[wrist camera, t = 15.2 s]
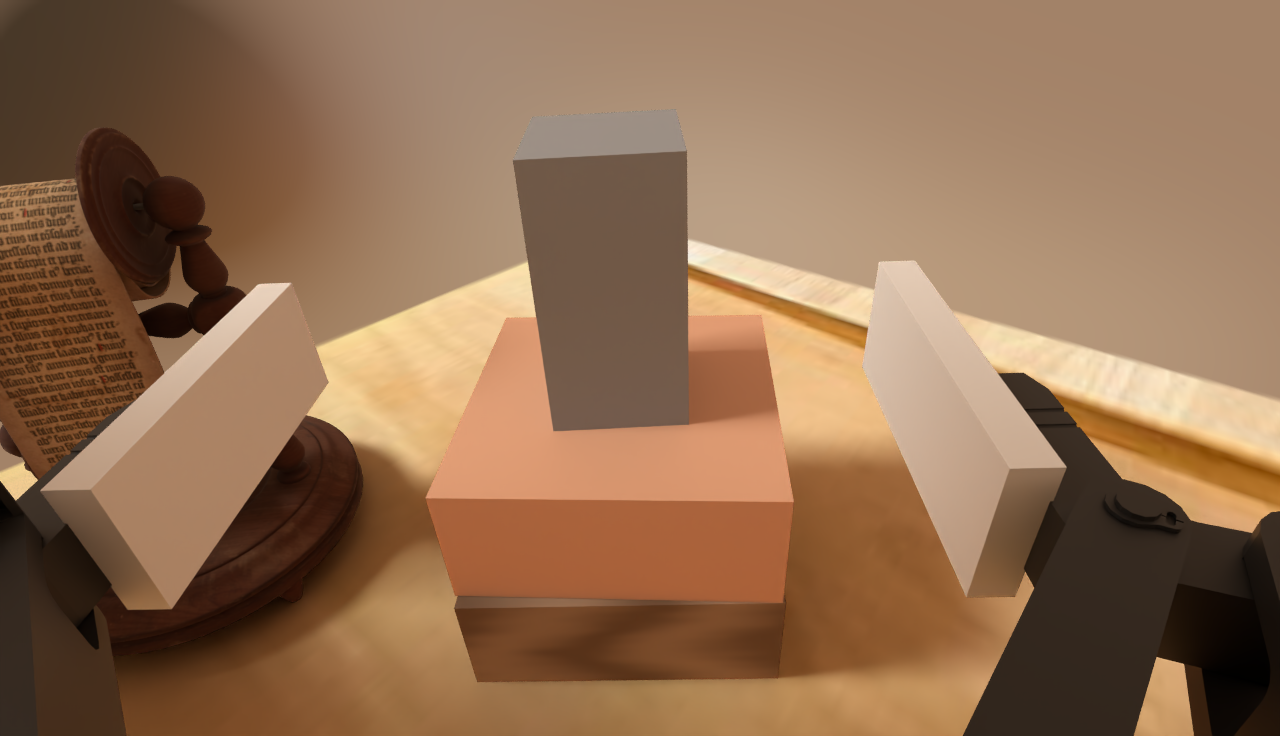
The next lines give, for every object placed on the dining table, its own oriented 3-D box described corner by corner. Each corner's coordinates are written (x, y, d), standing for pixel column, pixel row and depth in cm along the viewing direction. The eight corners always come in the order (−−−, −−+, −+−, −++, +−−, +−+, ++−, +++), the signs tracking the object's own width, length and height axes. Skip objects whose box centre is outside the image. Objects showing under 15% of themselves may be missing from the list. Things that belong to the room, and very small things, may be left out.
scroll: (-33, 712, 27) (-532, 252, 16) (122, 469, 40) (-104, 110, 28) (347, 637, 29) (135, 183, 18) (385, 428, 42) (270, 78, 30)
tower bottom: (479, 686, 28) (454, 608, 25) (525, 480, 38) (511, 408, 35) (777, 683, 27) (786, 602, 24) (743, 475, 37) (747, 401, 34)
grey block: (553, 431, 25) (512, 159, 20) (563, 357, 29) (532, 116, 24) (688, 424, 25) (687, 151, 20) (679, 352, 29) (675, 109, 24)
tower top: (455, 595, 25) (425, 498, 23) (521, 402, 35) (506, 317, 32) (782, 603, 24) (794, 502, 22) (756, 401, 34) (761, 315, 32)
